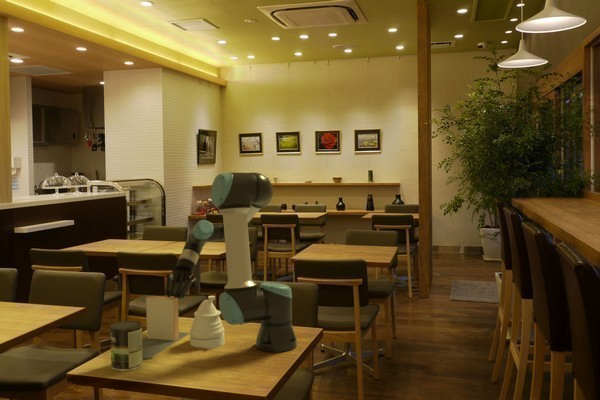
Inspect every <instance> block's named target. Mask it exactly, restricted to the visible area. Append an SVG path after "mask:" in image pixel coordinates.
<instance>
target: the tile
mask: <svg viewBox="0 0 600 400" xmlns="http://www.w3.org/2000/svg"><path fill="white" fill-rule="evenodd" d="M145 303H146V304H145V305H146V310H145V311H146V337H147V338H148V339H159V340H170V341H176V340H177V339H179V332H180V330H179V328H180V327H179V325H180V324H179V323H180V322H179V299H178V298H176V297H167V296H161V295H159V296H158V295H149V296H146V298H145Z"/></svg>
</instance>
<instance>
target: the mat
mask: <svg viewBox="0 0 600 400" xmlns="http://www.w3.org/2000/svg"><path fill="white" fill-rule="evenodd" d="M188 335H190V332H182V331H181V332H180V331H179V339H177V340H176V341H170V340H159V339H148V338H147V336H146V337H145V338H142V360H152V359H153V357H154V356H156V355H158V354H159V353H161V352H162V351H164V350H166V349H168V348H169V347H171V346H172V345H174V344H176V343H177V342H179V341H181V340H183V338H185V337H187V336H188Z"/></svg>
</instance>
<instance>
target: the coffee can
mask: <svg viewBox="0 0 600 400" xmlns="http://www.w3.org/2000/svg"><path fill="white" fill-rule="evenodd" d="M109 329H110V354H111V355H110V361H111V363H110V364H111V366H110V368H111V370H114V371H115V372H130V371H135V370H138V369H140V368H141V367H142V366H143V364H144V363H143V359H142V340H143V323H142V322H141V321H138V320H122V321H117V322H115V323H111V325H109Z"/></svg>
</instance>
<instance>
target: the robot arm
mask: <svg viewBox="0 0 600 400" xmlns="http://www.w3.org/2000/svg"><path fill="white" fill-rule="evenodd" d="M272 184H273V183H272V182H271V181H270V180H269V178H268V177H267V176H266V175H264V174H262V173H260V172H224V173H219V174H218V175H216V176H215V178H214V179H213V181H212V185H211V191H210V198H211V202H212V204H213V205H214V206H215V207H217V211H218V212H219V214H221V215H222V220H223V222H216V223H212V222H210V221H209V220H207V219H202V220H201V219H200V220H199V221H198V222H197V223H196V224H195V225H194V226H193V229H192V230H190V232H189V233H188V235H187V237H186V238H187V239H186V241H185V243H184V246H183V249H182V251H181V253H180V255H179V258H178V260H177V263H176V266H175V269H174V271H173V272H172V273H171V274H166V285H165V291H164V294H165V297H176V298H178V300H180V299H184V298H185V296H186V295H187V294H188V291H189V290H190V288H191V287H192V285H194V283H195V282H196V281H197V278H196V277H195V275H194V272H195V269H196V266H197V263H198V260H199V259H200V256H201V253H202V250H203V248H204V246H205V245H206V244H207V243H210V242H222V241H223V242H224V245H225V247H224V248H225V259H226V272H227V283H226V284H225V285H224V287H223V288H224V290H223V291H224V292H222V293H221V294H220V295H219V299H218V305H219V311H220V312H221V314H220V315H222V318H223V320H224V321H225V323H227V324H228V325H230V326H237V325H241V326H242V325H244V324H250V323H256V322H260V326H259V329H258V333H257V337H256V338H255V339H256V340H255V344H256V345H255V347H256V348H257V349H258V350H260V351H263V352H270V353H271V352H272V353H278V352H280V353H281V352H287V351H291V350H293V349H295V348H296V347H297V346H298V343H297V341H298V340H297V336H296V333H295V329H294V327H293V315H292V314H293V309H292V308H293V300H292V299H293V294H292V288H291V287H290V285H287V284H285V283H279V282H272V281H271V282H267V281H266V282H265V281H264V282H261V283H260V285H259V288H258V286H257V283H256V282H254V280H253V277H252V276H253V274H252V263H251V262H252V261H251V251H250V250H251V249H250V240H249V238H250V237H249V226H248V225H249V222H251V220H252V219H253V218H254V217H255V215H257V213H258V212H259V211H260V210H261V209H264V208H266V207H267V206H268V205H269V204H270V202H272V199H273V196H274V188H273V185H272Z"/></svg>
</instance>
